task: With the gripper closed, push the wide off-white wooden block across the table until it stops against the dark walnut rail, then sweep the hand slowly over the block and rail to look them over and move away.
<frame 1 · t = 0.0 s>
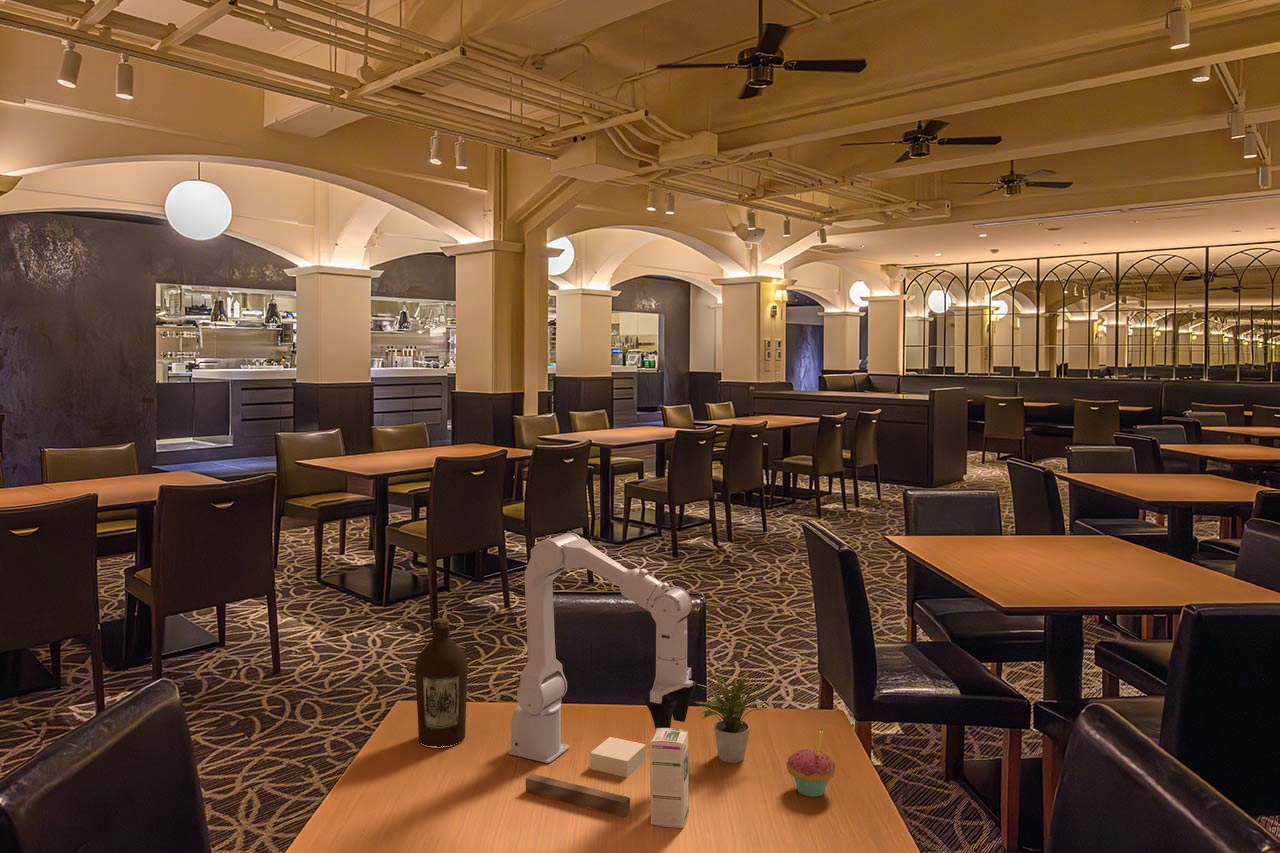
hand: (671, 728, 153), 10 cm above the table, tool pointing down, fingers open, 7 cm apart
cupcake: (810, 791, 150), on the table
syrup box: (669, 819, 140), on the table
olive oil: (441, 740, 171), on the table
house plant: (730, 754, 165), on the table
stop rail: (576, 801, 146), on the table
wooden block: (618, 766, 160), on the table
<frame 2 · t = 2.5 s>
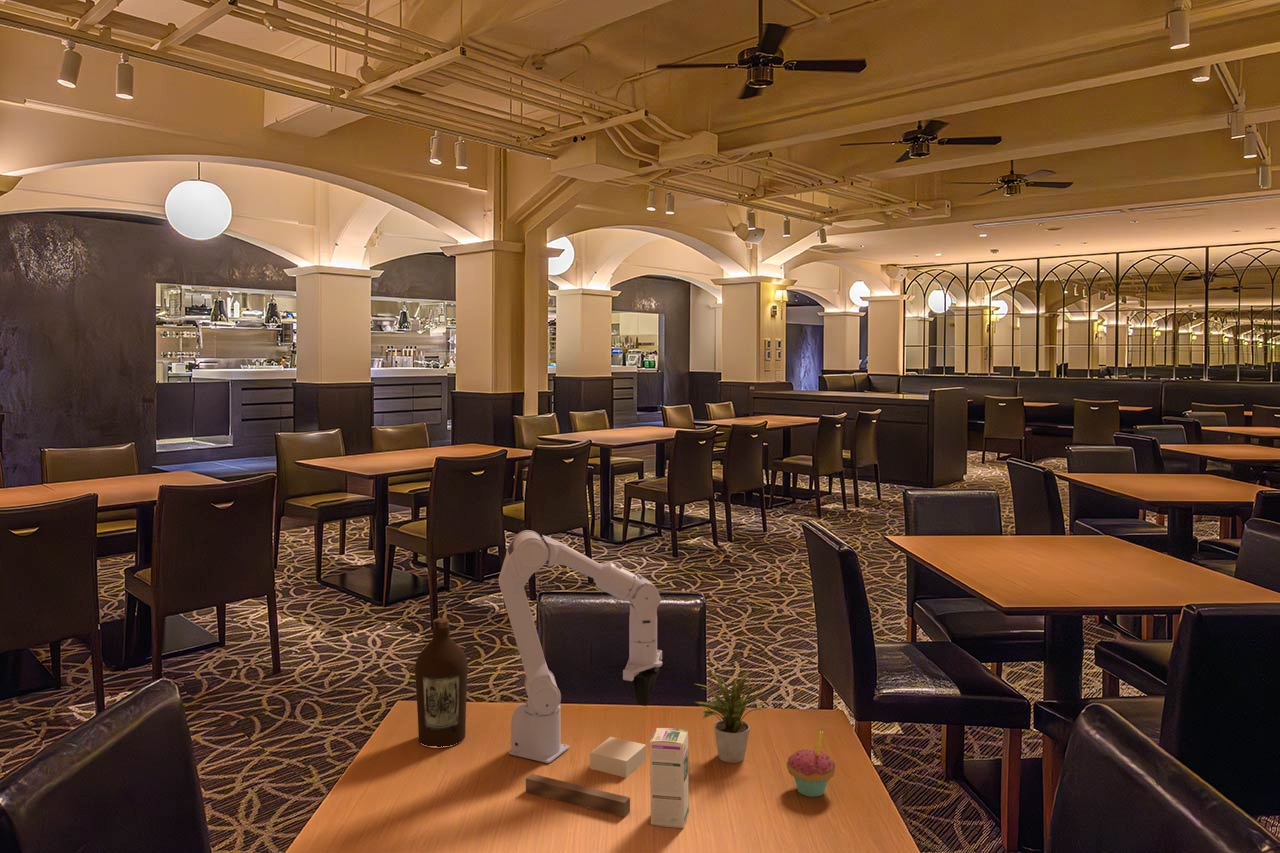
hand: (643, 704, 170), 8 cm above the table, tool pointing down, fingers closed
nothing on the table moved.
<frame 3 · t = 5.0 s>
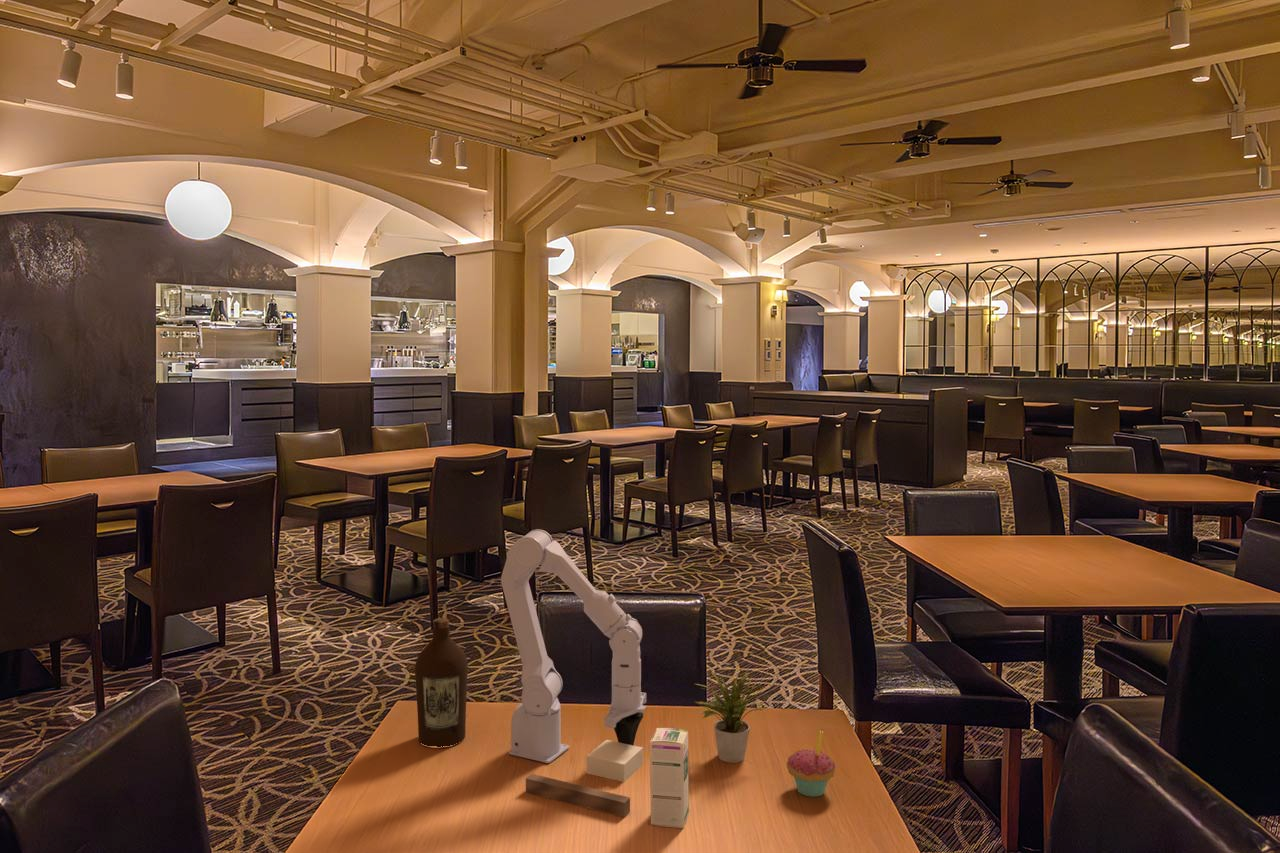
hand: (626, 750, 163), 1 cm above the table, tool pointing down, fingers closed
wooden block: (615, 769, 158), on the table, touching gripper
everything else where it was.
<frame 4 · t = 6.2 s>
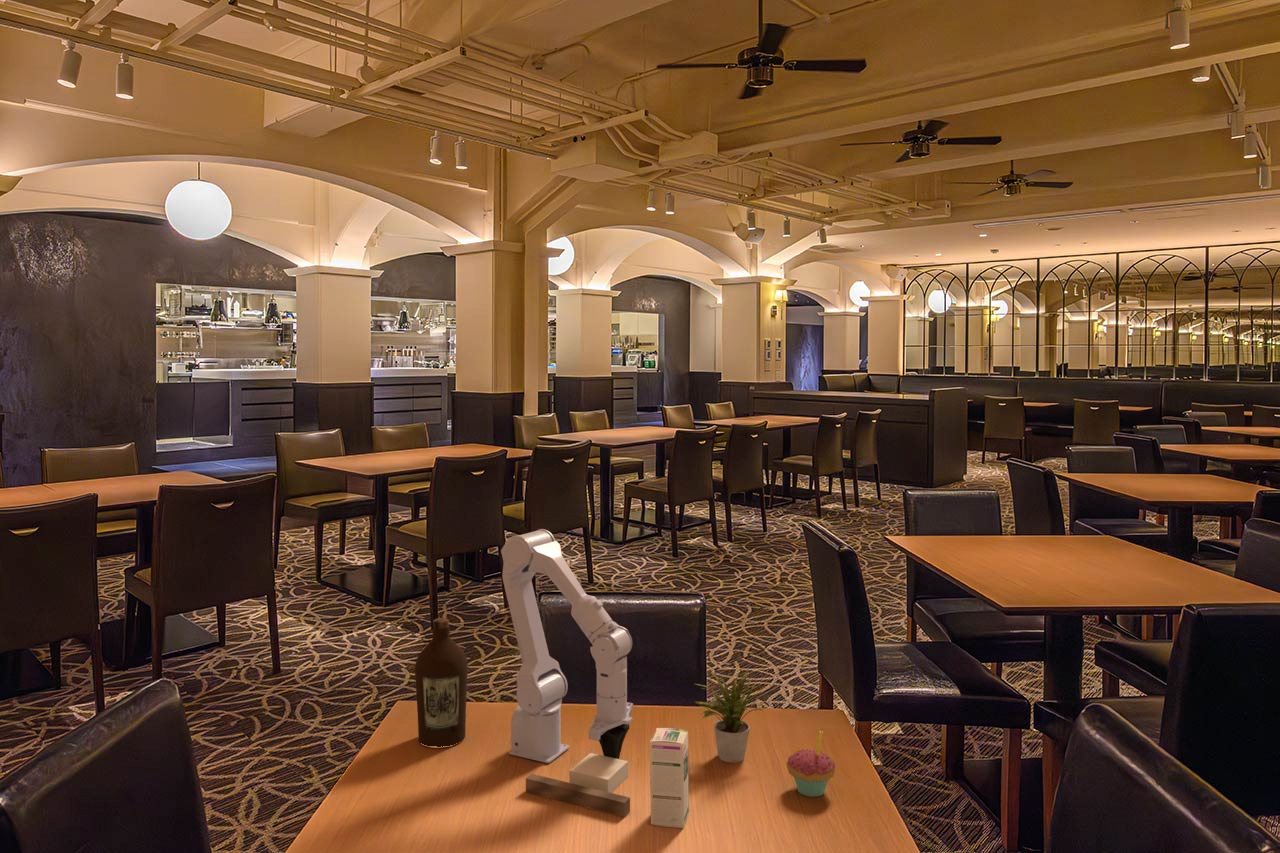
hand: (611, 763, 157), 1 cm above the table, tool pointing down, fingers closed
wooden block: (599, 784, 153), on the table
everything else where it was.
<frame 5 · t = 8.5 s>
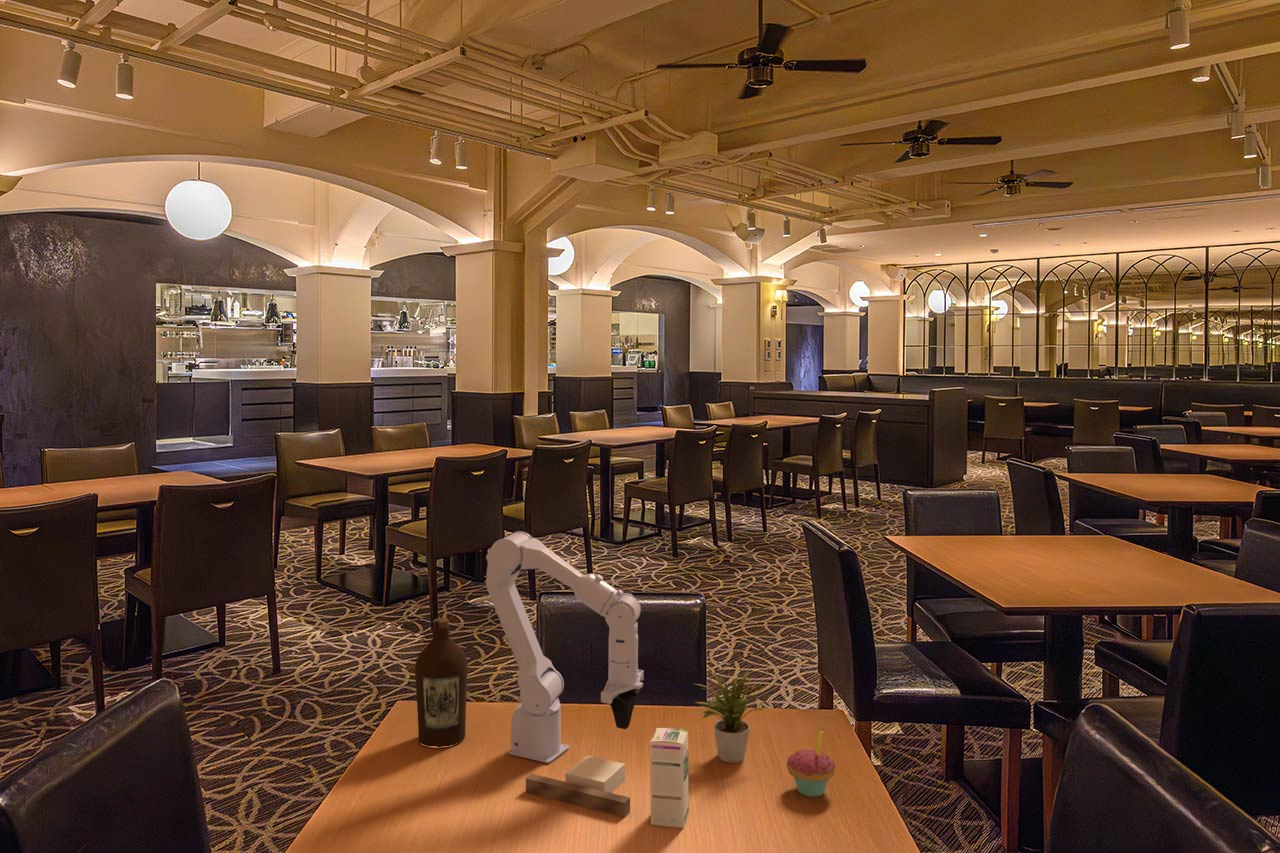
hand: (622, 727, 161), 7 cm above the table, tool pointing down, fingers closed
wooden block: (595, 787, 152), on the table
everything else where it was.
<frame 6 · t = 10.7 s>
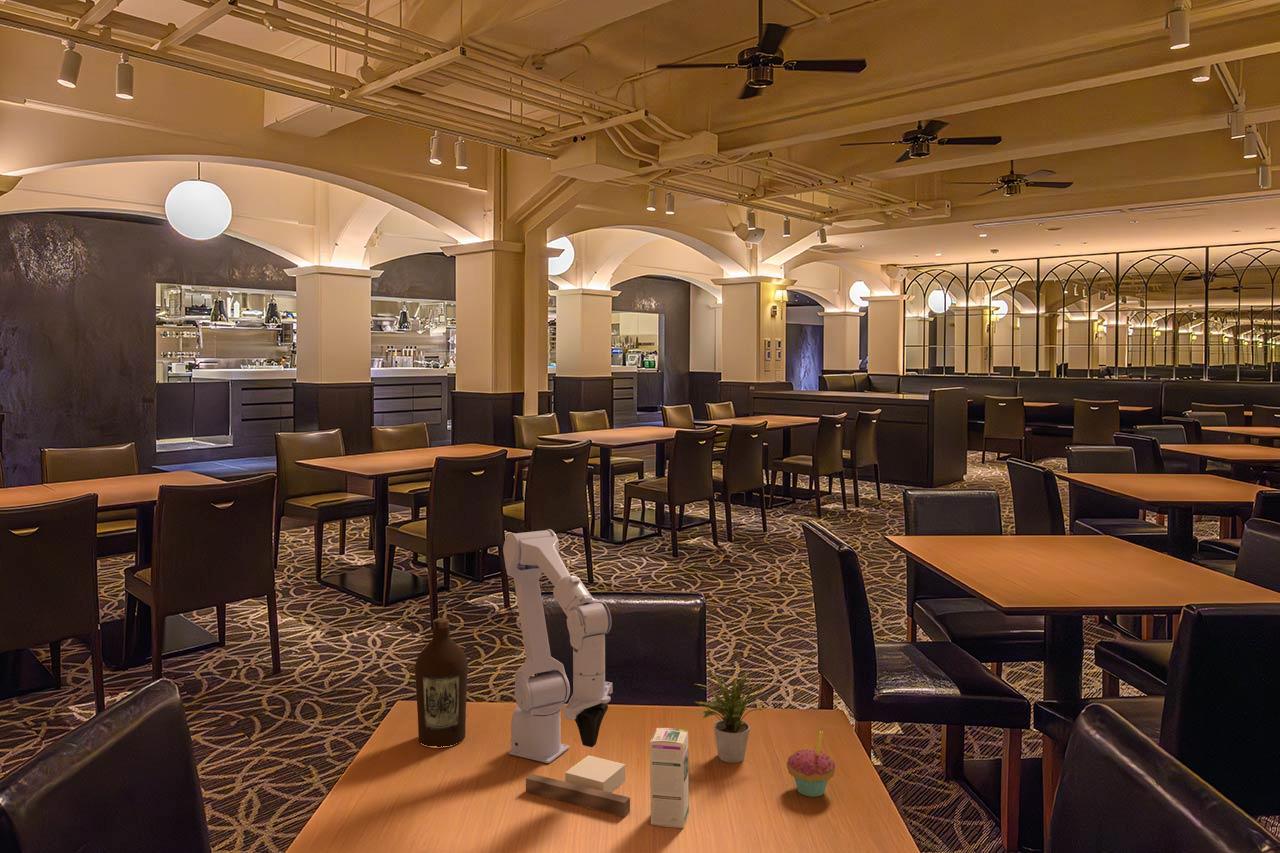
hand: (589, 744, 149), 8 cm above the table, tool pointing down, fingers closed
nothing on the table moved.
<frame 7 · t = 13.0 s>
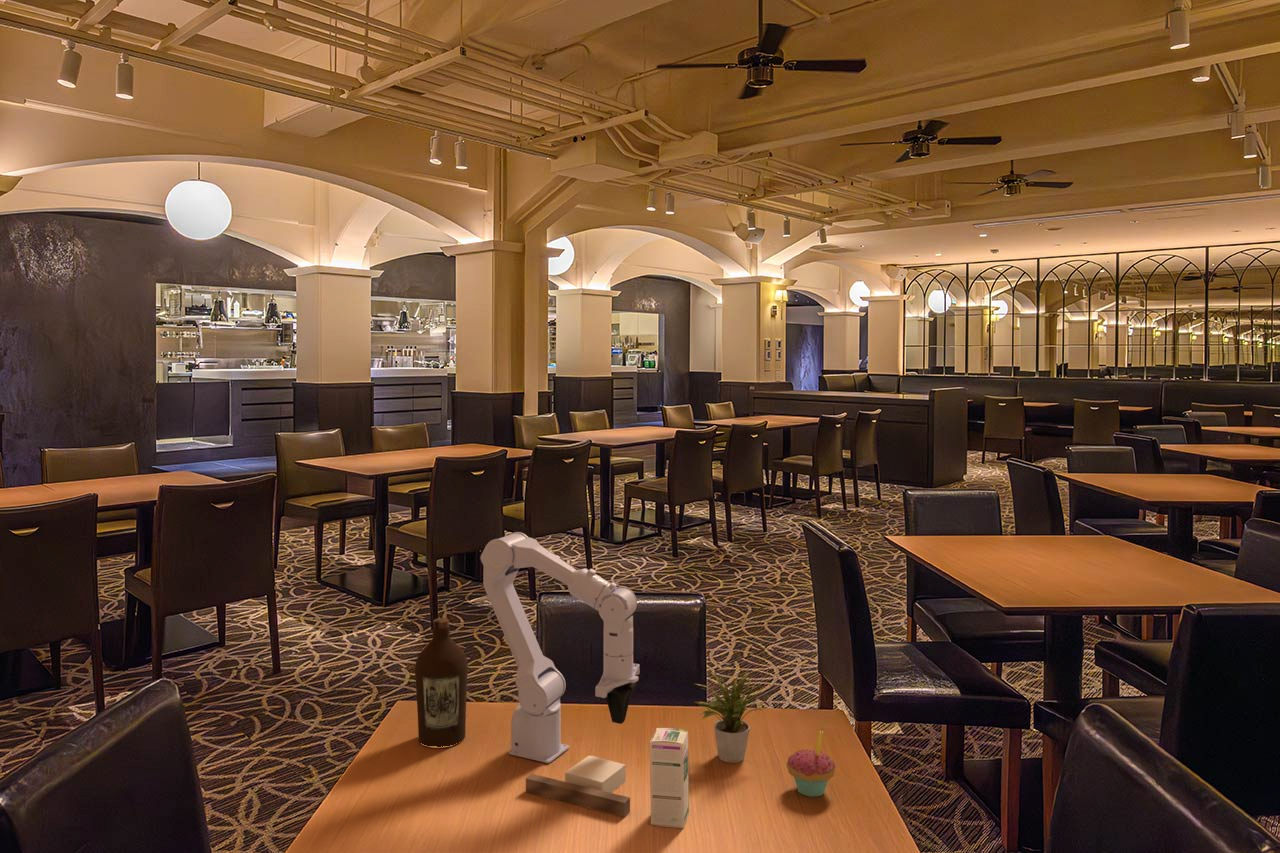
hand: (618, 721, 160), 8 cm above the table, tool pointing down, fingers closed
nothing on the table moved.
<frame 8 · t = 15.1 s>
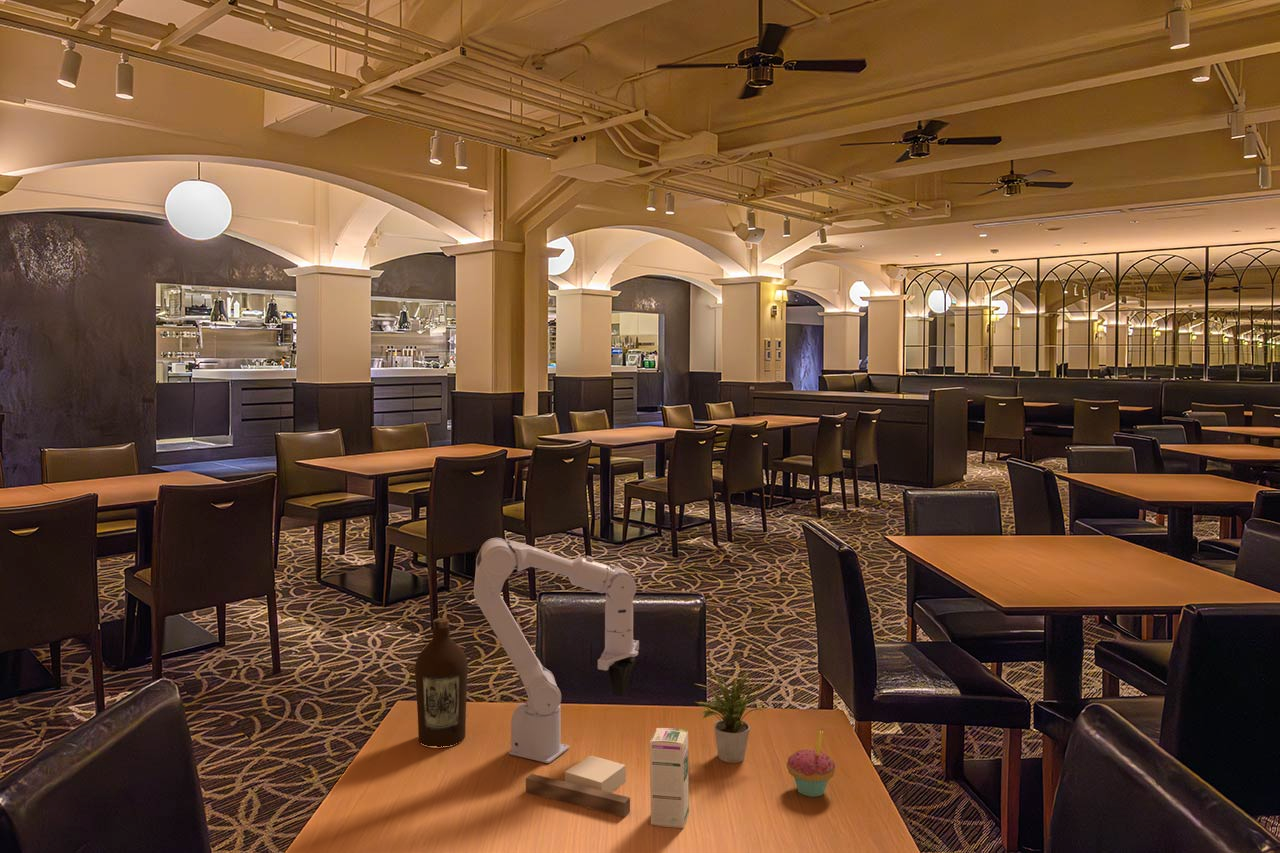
hand: (619, 694, 168), 10 cm above the table, tool pointing down, fingers closed
nothing on the table moved.
at the end: wooden block inside the target area (1.6 cm from its centre), on the table; wooden block tilted 0°; wooden block moved 9.2 cm from its start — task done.
